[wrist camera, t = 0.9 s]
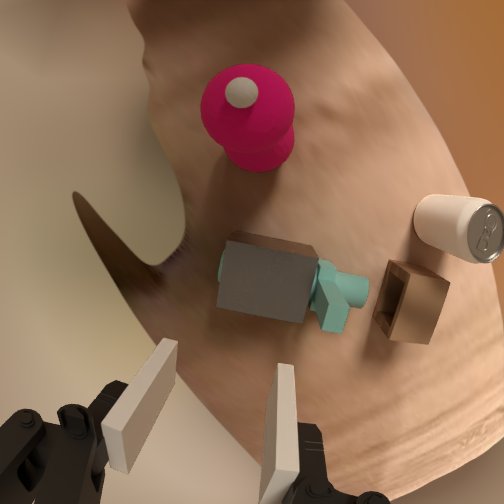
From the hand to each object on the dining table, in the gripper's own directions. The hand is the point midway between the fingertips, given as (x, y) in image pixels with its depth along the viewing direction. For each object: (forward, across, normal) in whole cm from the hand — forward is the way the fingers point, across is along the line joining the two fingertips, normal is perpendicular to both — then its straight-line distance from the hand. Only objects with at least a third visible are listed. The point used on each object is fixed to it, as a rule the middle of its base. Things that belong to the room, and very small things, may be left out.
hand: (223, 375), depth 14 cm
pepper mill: (+23, -2, +14) cm, 27 cm away
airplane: (+21, +4, 0) cm, 22 cm away
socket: (+23, +19, 0) cm, 29 cm away
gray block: (+23, +2, 0) cm, 23 cm away
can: (+23, +21, +10) cm, 33 cm away
